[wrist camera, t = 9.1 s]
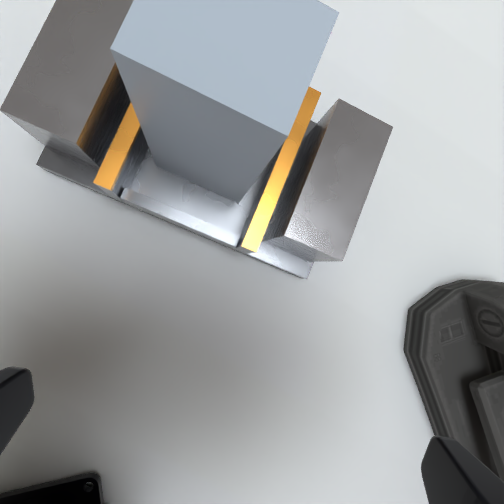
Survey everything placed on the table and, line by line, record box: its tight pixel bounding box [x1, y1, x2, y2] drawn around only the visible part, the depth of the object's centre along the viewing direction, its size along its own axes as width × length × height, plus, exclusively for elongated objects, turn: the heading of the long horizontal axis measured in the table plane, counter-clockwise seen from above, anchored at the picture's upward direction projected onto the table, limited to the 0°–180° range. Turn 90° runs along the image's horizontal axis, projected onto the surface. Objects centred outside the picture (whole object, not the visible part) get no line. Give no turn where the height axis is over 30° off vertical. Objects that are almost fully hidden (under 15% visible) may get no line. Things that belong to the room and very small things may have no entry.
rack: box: [0, 0, 393, 279], centre depth 17 cm, size 9×16×6 cm, turn 68°
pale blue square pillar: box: [110, 0, 339, 203], centre depth 14 cm, size 4×5×10 cm
